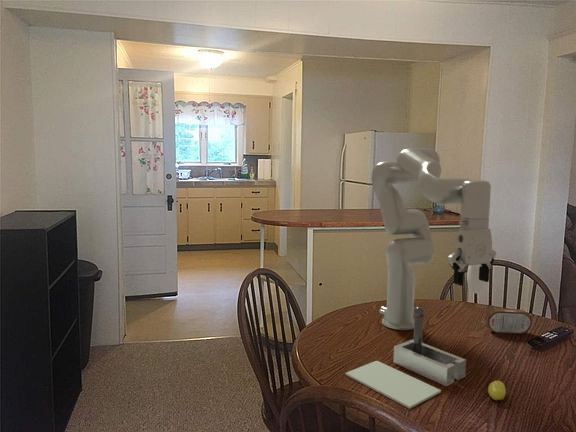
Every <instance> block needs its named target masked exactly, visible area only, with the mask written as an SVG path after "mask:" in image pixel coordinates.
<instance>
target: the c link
mask: <svg viewBox="0 0 576 432" xmlns="http://www.w3.org/2000/svg"><path fill="white" fill-rule="evenodd" d="M413 341H414V338H413V339H410V340H406V341H405V342H402V343H399V344H396V345H394V346H393V361H392V362H393V363H394V364H396V365H398V366H400V367H403V368H405V369H407V370H409V371H410V372H411V371H412V372H413V373H416V374H418V375H420V376H423V377H425V378H427V379H429V380H432V381H434V382H435V383H438V384H440V385H443V386H445V387H449V386H450V385H452V384H454V383H455V380H457V381H459V380H462V379H463V378H466V371H467V359H466V358H463V357H460V356H457V355H455V354H452V353H450V352H447V351H444V350H442V349H439V348H437V347H434V346H431V345H429V344H427V343H424V342H422V351H421V355H420V354H418V353H415V352H413Z"/></svg>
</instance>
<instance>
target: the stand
mask: <svg viewBox="0 0 576 432" xmlns="http://www.w3.org/2000/svg"><path fill="white" fill-rule="evenodd" d="M425 314H426V312H425V308H423V307H422V306H416V307H414V311H413V316H414V318H413V319H414V329H413V339H414V341H413V352H415V353H418V354H420V355H421V351H422V343H423V327H424V316H425Z"/></svg>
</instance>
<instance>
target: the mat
mask: <svg viewBox="0 0 576 432" xmlns="http://www.w3.org/2000/svg"><path fill="white" fill-rule="evenodd" d="M345 376H347V377H349V378H351V379H353V380H354V381H357V382H358V383H360V384H362V385H364V386H365V387H367V388H370V389H372V390H373V391H375V392H377V393H379V394H381V395H383V396H385V397H387V398H389V399H390V400H392V401H394V402H396V403H398V404H400V405H402V406H403V407H405V408H407V409H409V410H411V409H412V408H414V407H416V406H417V405H418V406H419V405H420V404H422V403H424V402H425V401H427V400H429V399H431V398H433V397H435V396H437V395H439V394H441V393H442V390H441V389H440V388H437V387H435V386H432V385H431V384H428V383H426V382H424V381H422V380H419V379H418V378H415V377H413V376H411V375H409V374H407V373H405V372H402V371H400V370H398V369H396V368H394V367H392V366H390V365H387V364H385V363H383V362H381V361H379V360H375V361H373V362H369V363H367V364H364V365H361V366H360V367H357V368H355V369H352V370H349V371H347V372H345Z"/></svg>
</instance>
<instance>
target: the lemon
mask: <svg viewBox="0 0 576 432" xmlns="http://www.w3.org/2000/svg"><path fill="white" fill-rule="evenodd" d="M487 393H488V395H489V396H490V397H491V399H492V400H494V401H502V400H504V399H505V396H506V394H507V392H506V385H505V383H504V382H502V381H500V380H494V381H492V382H491V383H489V385H488V389H487Z"/></svg>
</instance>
